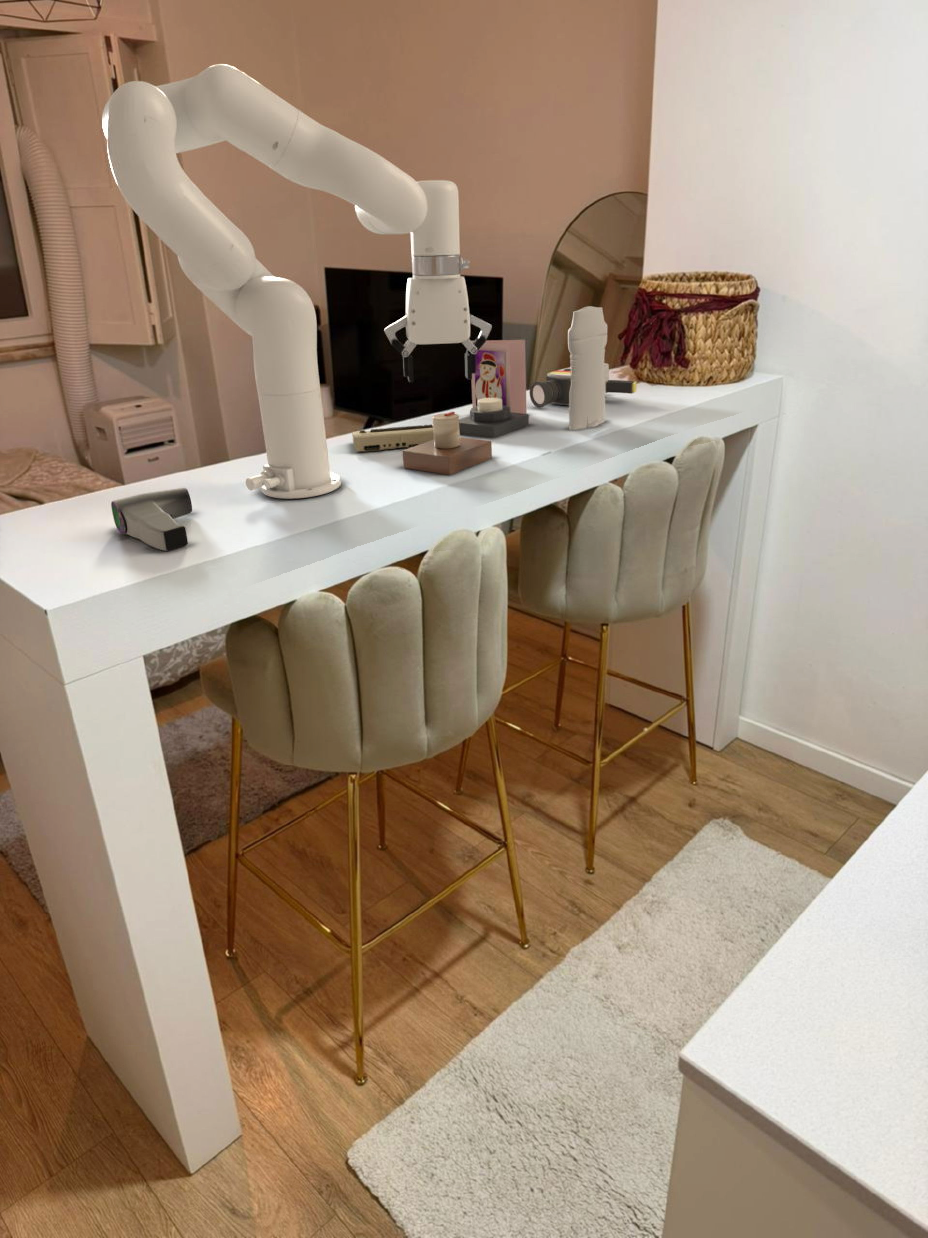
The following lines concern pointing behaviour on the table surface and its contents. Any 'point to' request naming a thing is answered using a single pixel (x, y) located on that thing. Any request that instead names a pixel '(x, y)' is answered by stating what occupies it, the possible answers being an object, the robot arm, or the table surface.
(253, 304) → the robot arm
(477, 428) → the grey square plinth
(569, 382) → the film camera
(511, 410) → the greeting card
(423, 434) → the computer
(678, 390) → the table surface
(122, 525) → the infrared thermometer
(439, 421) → the dial
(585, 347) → the tall pale column
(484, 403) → the power button
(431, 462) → the brown flat block
